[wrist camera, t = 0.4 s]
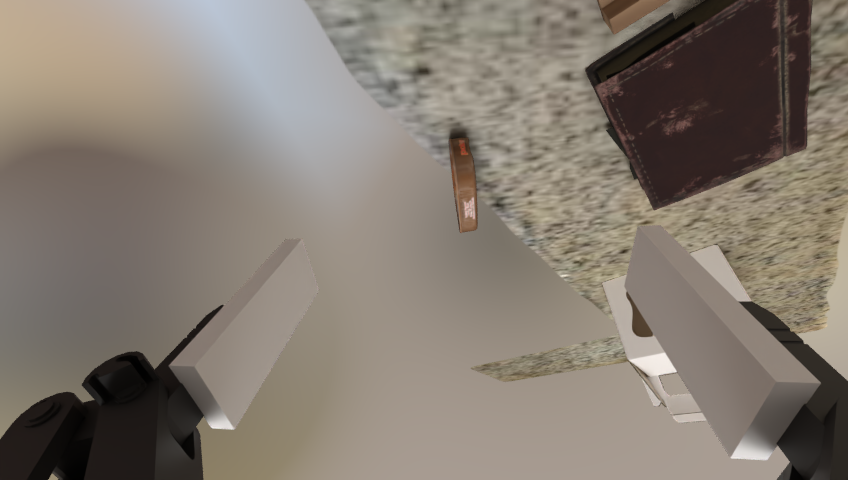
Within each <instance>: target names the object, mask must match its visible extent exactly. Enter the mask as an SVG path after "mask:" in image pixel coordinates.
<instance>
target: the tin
mask: <svg viewBox="0 0 848 480" xmlns="http://www.w3.org/2000/svg"><path fill="white" fill-rule="evenodd" d="M449 149H450V160H451V169H452V179H453V188H454V197H455V204H456V211H457V217H458V224H459V230H460V233H462V232H468V231H474V230H476V229H477V191H476V176H475V168H474V161H473V157H472V154H471V152H470V147H469V139H468V138H457V139H449Z"/></svg>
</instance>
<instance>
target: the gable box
mask: <svg viewBox="0 0 848 480" xmlns="http://www.w3.org/2000/svg"><path fill="white" fill-rule="evenodd" d="M689 254H690V255H691V256H692V257H693V258H694V259H695V260H696V261H697V262H698V263H699V264H700V265H702V266H703V267H704V268H705V269H706V270H707V271H708V272H709V273H710V274H711V275H712V276H713V277H714V278H715V279H716V280H717V281H718V282H719V283H720V284H721V285H722V286H723V287H724V288H725V289H726V290H727V291H728V292H729V293H730V294H731V295H732V296H733V297H734V298H735V299H736V300H737V301H751V299H750V297H749V296H748V294H747V292H746V291H745V289H744V287H743V286H742V284H741V282H740V281H739V279H738V277H737V276H736V274H735V273H734V271H733V269H732V268H731V266H730V264H729V263H728V261H727V259H726V258H725V256H724V254H723V253H722V251H721V250H720V248H719V246H718V245H712V246H709V247H706V248H703V249H700V250H697V251H694V252H691V253H689ZM626 276H627V274H626V275H623V276H620V277H617V278H614V279H611V280H608V281H605V282H603V283H602V285H603V288H604V291H605V294H606V297H607V300H608V303H609V306H610V309H611V311H612V314H613V317H614V320H615V323H616V326H617V329H618V332H619V335H620V338H621V341H622V344H623V347H624V350H625V353H626V356H627V359H628V361H629V362H630V364H631V365H632V366H633V367H634V368H635V370H636V371H637V373H638V374H639V375H640V376H641V378H642V381H643V383H644V385H645V387H646V390H647V392H648V394H649V396H650V398H651V401H652V403H653V405H654V407H656V406H660V404H661V403H662V404H663V405H664V406H665V407H667V408H668V409H669V411H670V413H671V415H672V416H673V418H674V420H675V421H677V422H679V423H689V422H700V421H707V420H706V418H705V416H704V415H703V413H702V412H701V410H700V408H699V407H698V405H697V403H696V402H695V400H694V399H693V397H692V395H691V394H690V393H689V394H682V395H677V394H675V395H672V396H670V395H669V394H667V393H666V392H665V390H664V387H663V385H662V382H661V380H660V377H659V376H661V375H667V374H674V373H677V371H676V370H675V368H674V366H673V365H672V363H671V361H670V360H669V358H668V357H667V355H666V353H665V352H664V350H663V349H662V347H661V345H660V344H659V342H658V340H657V339H656V337H655V336H652V334H653V332H652V331H651V329H650V327H649V326H648V324H647V323H646V321H645V319H644V318H643V316H642V315H641V313H640V311H639V310H638V308H637V306H636V305H635V303H634V302H633V300H632V298H631V297H630V295H629V294H628V292H627V290H626V289H625V287H624V285H625V280H626Z"/></svg>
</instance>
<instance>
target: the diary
mask: <svg viewBox="0 0 848 480" xmlns="http://www.w3.org/2000/svg"><path fill="white" fill-rule="evenodd" d="M812 2H813V0H705V1H704V2H702V3H701V4H699V5H697V6H696V7H694V8H693V9H691V10H689V11H688V12H686V13H685V14H683V15H682V16H680V17H678V18H677V19H674V16H673V12H672V13H671V14H669V15H668V16H666V17H664V18H663V19H661V20H660V21H658V22H656V23H655V24H653V25H652V26H650V27H649V28H647V29H645V30H644V31H642V32H641V33H639V34H637V35H636V36H634V37H633V38H631V39H630V40H628V41H626V42H625V43H623V44H621V45H620V46H618V47H616V48H615V49H613V50H612V51H611V52H609V53H608V54H606V55H605V56H603V57H602V58H600V59H599V60H597V61H596V62H594V63H593V64H592V65H591V66H590V67H589V68H588V69H587V70H586V73H587V75H588V78H589V80H590V82H591V84H592V86H593V88H594V90H595V92H596V94H597V96H598V98H599V101H600V103H601V105H602V107H603V109H604V111H605V113H606V115H607V117H608V119H609V121H610V123H611V125H612V127H613V128H610V129H608V130H606V131H607V132H608V133H609V135H610V136H611V137H612V139H613V140H614V141H615V143H616V144H617V145H618V146H619V148H620V149H621V150H622V151H623V152H624V154H625V155H626V156H627V157H628V159H629V160H630V169H631V172H632V174H633V177H634V179H637V178H638V180H639V183H640V185H641V187H642V189H643V190H644V191H645V193H646V195H647V197H648V199H649V201H650V203H651V205H652V207H653V209H654V210H657V209H659V208H662V207H664V206H667V205H670V204H672V203H675V202H678V201H680V200H683V199H685V198H688V197H691V196H693V195H696V194H698V193H701V192H703V191H706V190H709V189H711V188H714V187H716V186H719V185H721V184H724V183H726V182H729V181H731V180H733V179H736V178H738V177H740V176H743V175H745V174H747V173H750V172H752V171H754V170H757V169H759V168H761V167H763V166H766V165H768V164H770V163H772V162H775V161H777V160H779V159H781V158H783V157H784V156H789V155H791V154H794V153H796V152H799V151H801V150H804V149H806V147H807V106H808V95H809V83H810V72H811V13H812Z"/></svg>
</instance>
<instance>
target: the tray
mask: <svg viewBox="0 0 848 480" xmlns="http://www.w3.org/2000/svg"><path fill="white" fill-rule="evenodd" d="M597 1H598V4H599V7H600V10H601V13H602V16H603V19H604V21H605V22H606V24H607V25H608V27H609V28H610V29H611V31H612V32H613V34H616V33H618V32H619V31H621V30H623V29H624V28H626V27H627V26H629V25H631V24H632V23H634V22H636V21H637V20H639V19H640V18H642V17H644V16H645V15H647V14H648V13H650V12H652V11H653V10H655V9H657V8H658V7H660V6H661V5H663V4H665V3H666V2H668V1H670V0H597Z"/></svg>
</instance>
